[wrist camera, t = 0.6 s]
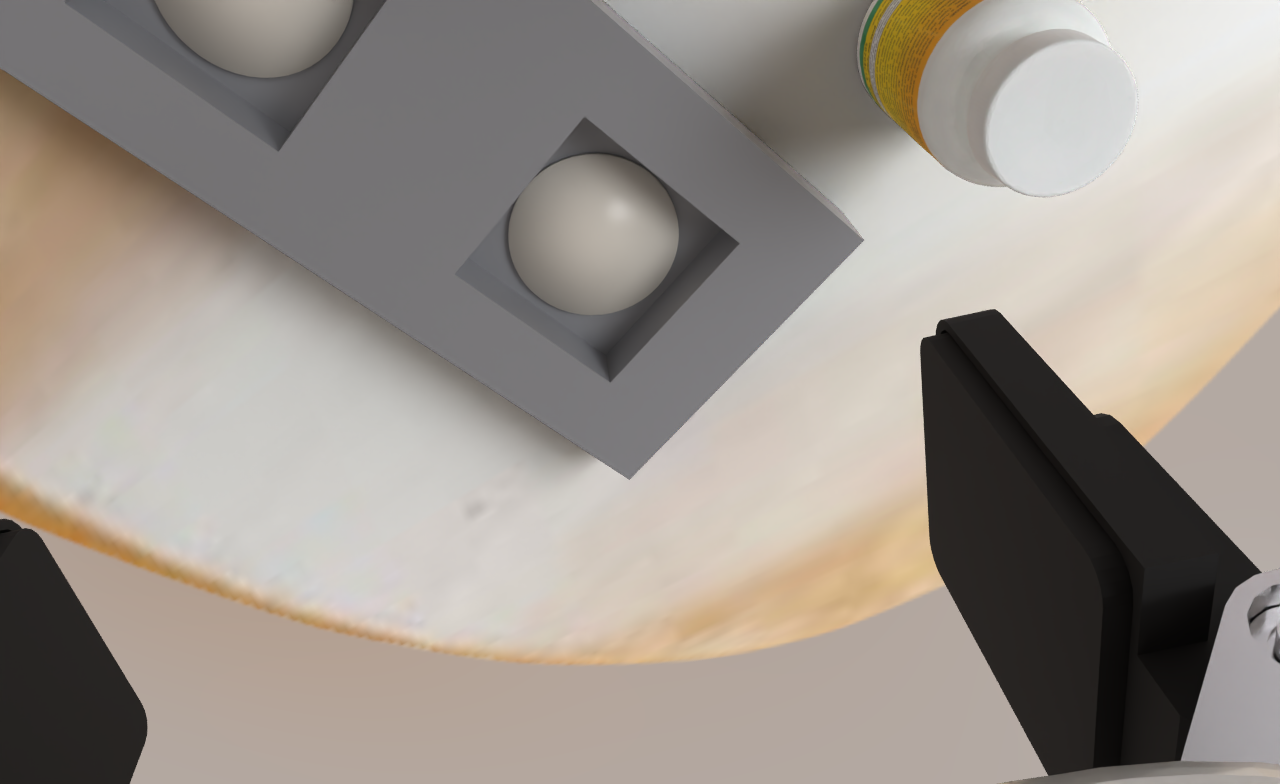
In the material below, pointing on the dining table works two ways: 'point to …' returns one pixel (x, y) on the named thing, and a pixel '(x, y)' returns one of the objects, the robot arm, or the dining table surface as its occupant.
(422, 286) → the block
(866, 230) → the dining table surface
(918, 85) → the supplement bottle
